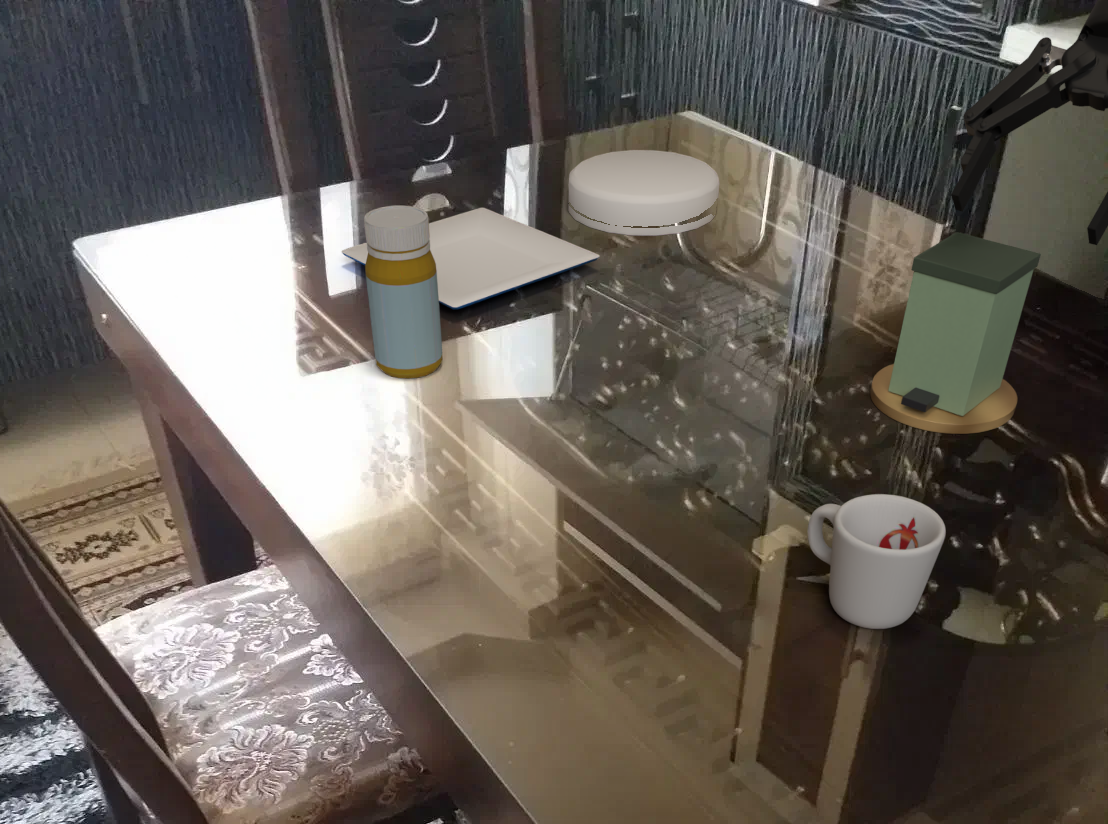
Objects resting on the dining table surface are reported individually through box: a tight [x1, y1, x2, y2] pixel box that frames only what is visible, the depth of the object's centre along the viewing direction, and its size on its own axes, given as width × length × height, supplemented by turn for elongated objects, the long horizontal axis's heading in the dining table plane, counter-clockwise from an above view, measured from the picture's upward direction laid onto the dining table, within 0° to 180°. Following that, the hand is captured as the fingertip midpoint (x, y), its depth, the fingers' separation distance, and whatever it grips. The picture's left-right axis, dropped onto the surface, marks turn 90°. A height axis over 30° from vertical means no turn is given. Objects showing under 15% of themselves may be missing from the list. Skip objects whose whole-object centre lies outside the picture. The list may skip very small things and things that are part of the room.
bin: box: [888, 231, 1042, 416], centre depth 108 cm, size 11×8×13 cm
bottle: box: [363, 205, 443, 380], centre depth 115 cm, size 7×7×15 cm
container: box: [567, 149, 720, 237], centre depth 152 cm, size 20×20×5 cm
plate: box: [341, 207, 601, 310], centre depth 138 cm, size 22×22×2 cm
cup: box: [807, 493, 947, 630], centre depth 87 cm, size 11×8×8 cm
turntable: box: [869, 363, 1018, 435], centre depth 114 cm, size 14×14×1 cm
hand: (1022, 219), depth 109 cm, fingers open, 13 cm apart
